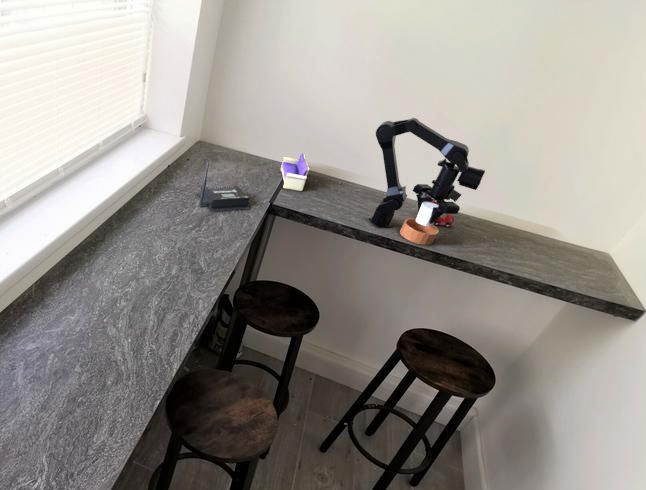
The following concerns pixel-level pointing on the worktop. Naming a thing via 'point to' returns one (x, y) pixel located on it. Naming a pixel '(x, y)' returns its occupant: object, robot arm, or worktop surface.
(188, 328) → the worktop surface
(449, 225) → the toy fire truck
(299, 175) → the toy sofa
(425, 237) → the bowl
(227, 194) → the black wifi router
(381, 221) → the robot arm
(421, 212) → the shot glass
